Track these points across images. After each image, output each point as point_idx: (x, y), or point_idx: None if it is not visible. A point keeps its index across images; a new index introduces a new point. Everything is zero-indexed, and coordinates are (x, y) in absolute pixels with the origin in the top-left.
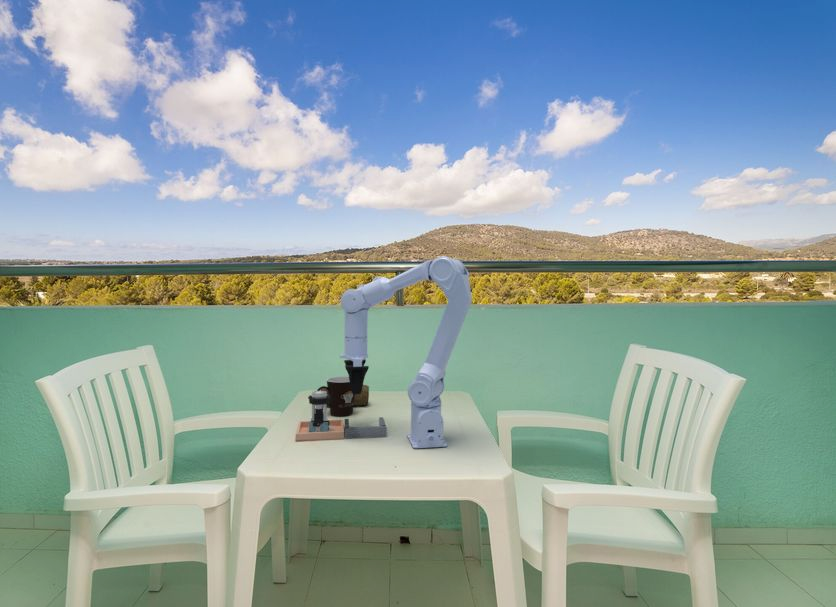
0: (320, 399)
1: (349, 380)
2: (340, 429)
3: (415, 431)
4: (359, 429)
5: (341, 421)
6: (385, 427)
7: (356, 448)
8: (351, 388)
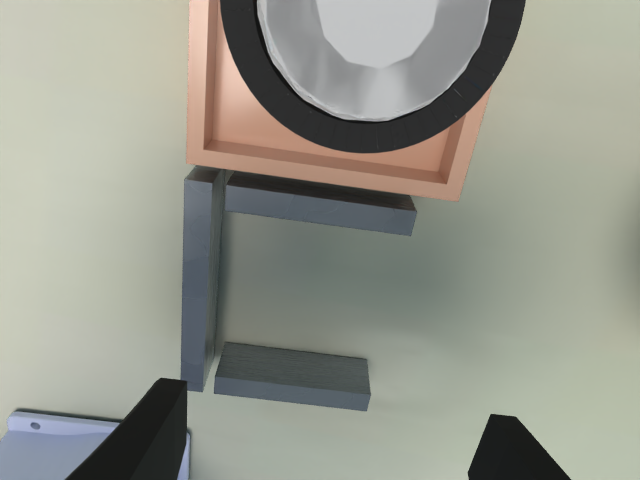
0: (222, 4)
1: (541, 470)
2: (363, 159)
3: (38, 477)
4: (184, 258)
5: (413, 185)
6: None
7: (34, 190)
8: (128, 418)
